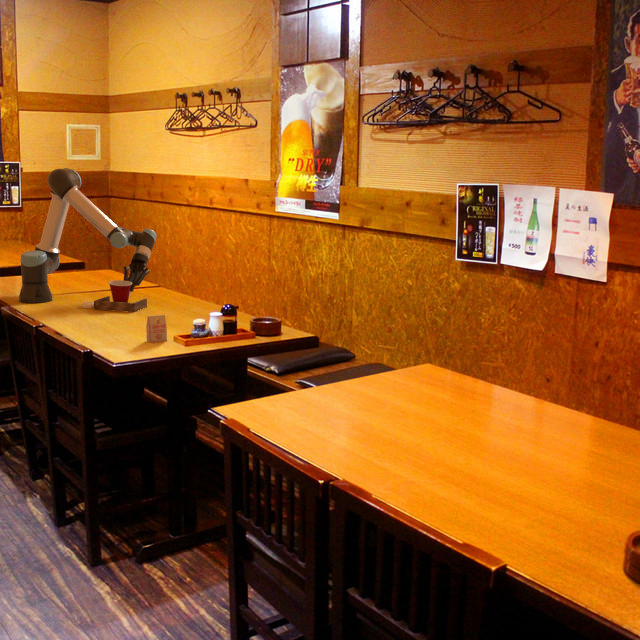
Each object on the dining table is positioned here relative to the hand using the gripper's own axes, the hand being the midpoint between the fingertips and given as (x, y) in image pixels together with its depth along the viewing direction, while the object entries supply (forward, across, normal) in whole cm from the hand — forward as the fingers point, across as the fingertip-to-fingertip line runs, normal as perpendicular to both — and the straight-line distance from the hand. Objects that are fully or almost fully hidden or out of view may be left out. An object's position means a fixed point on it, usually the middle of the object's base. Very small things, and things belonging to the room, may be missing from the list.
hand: (126, 296), depth 357 cm
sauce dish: (+9, +15, +2) cm, 17 cm away
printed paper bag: (+46, -43, +39) cm, 74 cm away
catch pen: (+7, 0, +1) cm, 7 cm away
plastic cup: (+6, +1, -1) cm, 6 cm away
